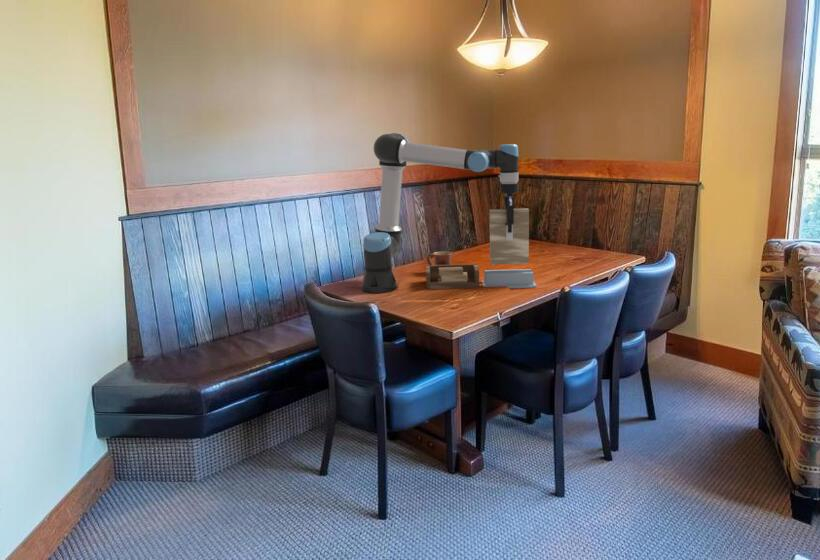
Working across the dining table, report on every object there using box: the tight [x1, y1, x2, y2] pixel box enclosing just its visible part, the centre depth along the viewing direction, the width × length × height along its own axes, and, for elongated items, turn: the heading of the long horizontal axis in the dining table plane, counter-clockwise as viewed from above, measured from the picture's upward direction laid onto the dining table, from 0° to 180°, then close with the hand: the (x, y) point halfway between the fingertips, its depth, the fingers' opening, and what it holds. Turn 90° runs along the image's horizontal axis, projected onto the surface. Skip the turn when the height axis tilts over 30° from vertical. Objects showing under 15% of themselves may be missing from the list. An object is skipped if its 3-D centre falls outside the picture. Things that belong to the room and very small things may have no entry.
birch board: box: [489, 208, 530, 266], centre depth 256 cm, size 2×16×23 cm, turn 88°
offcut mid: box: [441, 272, 468, 282], centre depth 260 cm, size 5×11×2 cm, turn 88°
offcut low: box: [438, 279, 467, 283], centre depth 260 cm, size 5×12×2 cm, turn 88°
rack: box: [425, 263, 480, 290], centre depth 262 cm, size 14×22×8 cm, turn 88°
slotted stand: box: [481, 268, 537, 289], centre depth 261 cm, size 10×22×6 cm, turn 88°
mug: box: [426, 250, 453, 265], centre depth 283 cm, size 12×9×10 cm
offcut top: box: [439, 267, 463, 276], centre depth 259 cm, size 5×10×2 cm, turn 91°
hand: (509, 239), depth 256 cm, fingers closed on birch board, 2 cm apart
